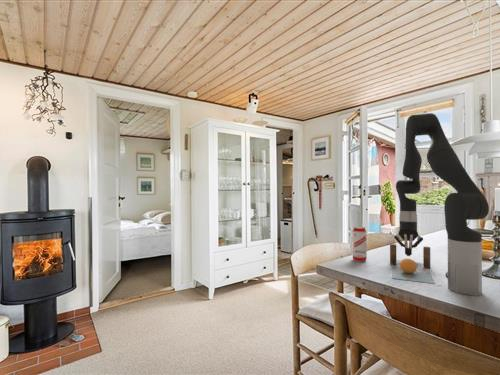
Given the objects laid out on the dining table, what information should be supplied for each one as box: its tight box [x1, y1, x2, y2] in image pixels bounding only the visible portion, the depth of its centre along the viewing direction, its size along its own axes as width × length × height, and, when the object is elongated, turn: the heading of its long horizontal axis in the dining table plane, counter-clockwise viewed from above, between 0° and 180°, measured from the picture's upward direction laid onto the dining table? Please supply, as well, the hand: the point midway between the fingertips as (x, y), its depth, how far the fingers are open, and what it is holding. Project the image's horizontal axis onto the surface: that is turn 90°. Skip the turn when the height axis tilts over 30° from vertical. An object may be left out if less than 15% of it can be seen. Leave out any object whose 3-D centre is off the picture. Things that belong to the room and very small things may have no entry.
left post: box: [389, 243, 397, 266], centre depth 128 cm, size 3×3×9 cm
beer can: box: [352, 226, 368, 263], centre depth 134 cm, size 6×6×16 cm
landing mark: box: [391, 268, 436, 285], centre depth 110 cm, size 14×14×1 cm
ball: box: [399, 258, 418, 274], centre depth 114 cm, size 6×6×6 cm
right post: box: [422, 246, 431, 270], centre depth 122 cm, size 3×3×9 cm
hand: (408, 255), depth 136 cm, fingers closed
